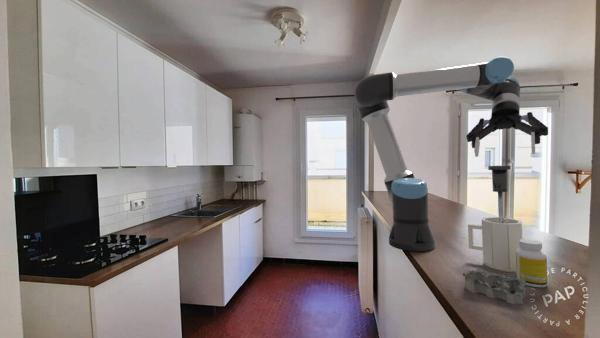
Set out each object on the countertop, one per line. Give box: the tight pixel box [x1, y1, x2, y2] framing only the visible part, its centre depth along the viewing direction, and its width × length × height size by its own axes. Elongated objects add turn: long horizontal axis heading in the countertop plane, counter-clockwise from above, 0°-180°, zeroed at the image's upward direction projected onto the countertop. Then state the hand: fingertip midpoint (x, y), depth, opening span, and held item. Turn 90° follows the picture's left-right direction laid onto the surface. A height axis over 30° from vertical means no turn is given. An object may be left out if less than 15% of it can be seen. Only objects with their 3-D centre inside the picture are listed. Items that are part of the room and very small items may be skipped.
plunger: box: [488, 165, 512, 223], centre depth 69 cm, size 6×6×20 cm
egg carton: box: [462, 268, 527, 305], centre depth 56 cm, size 11×8×4 cm
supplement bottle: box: [515, 238, 548, 288], centre depth 59 cm, size 5×5×10 cm
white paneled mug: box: [467, 216, 523, 273], centre depth 71 cm, size 12×8×12 cm
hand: (503, 152), depth 77 cm, fingers open, 13 cm apart
